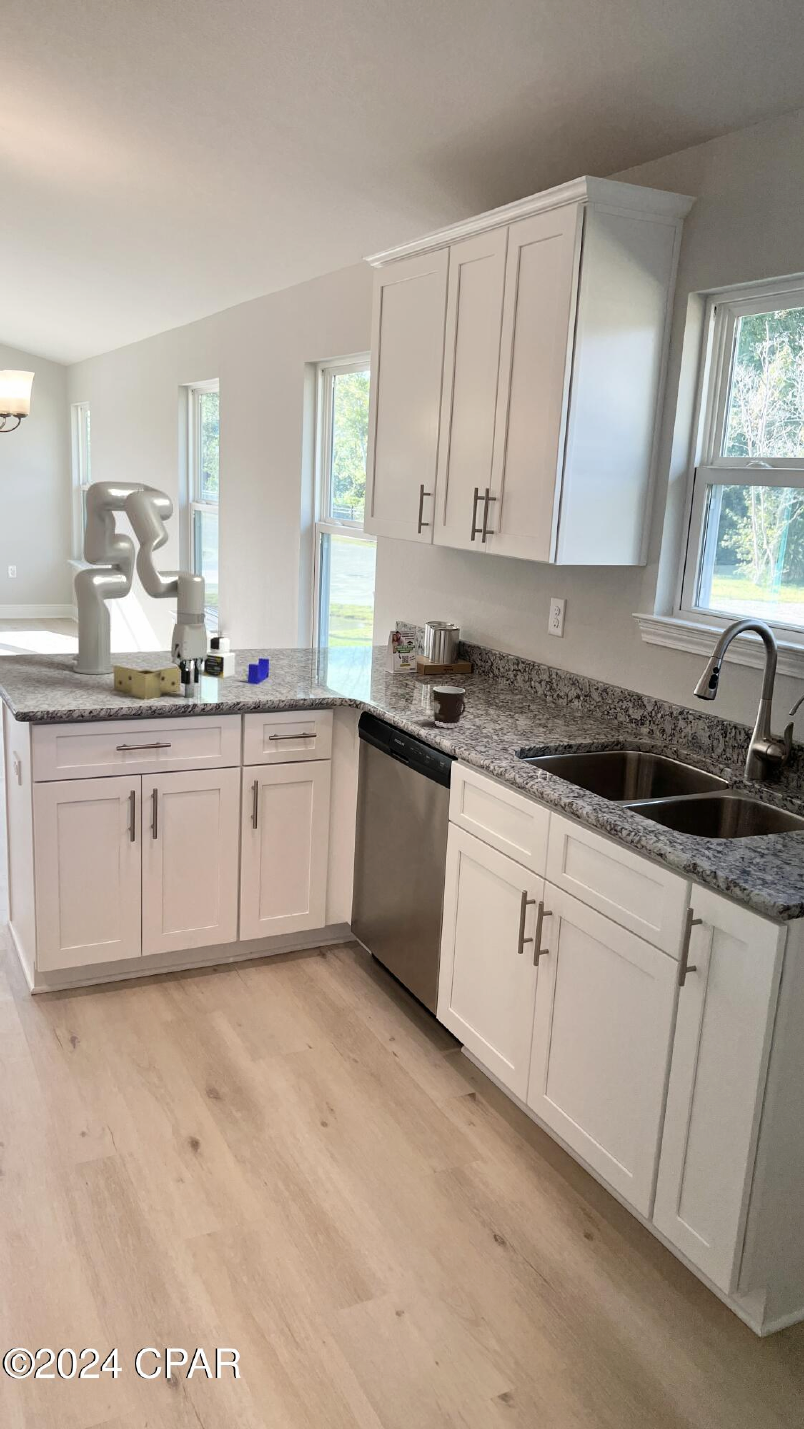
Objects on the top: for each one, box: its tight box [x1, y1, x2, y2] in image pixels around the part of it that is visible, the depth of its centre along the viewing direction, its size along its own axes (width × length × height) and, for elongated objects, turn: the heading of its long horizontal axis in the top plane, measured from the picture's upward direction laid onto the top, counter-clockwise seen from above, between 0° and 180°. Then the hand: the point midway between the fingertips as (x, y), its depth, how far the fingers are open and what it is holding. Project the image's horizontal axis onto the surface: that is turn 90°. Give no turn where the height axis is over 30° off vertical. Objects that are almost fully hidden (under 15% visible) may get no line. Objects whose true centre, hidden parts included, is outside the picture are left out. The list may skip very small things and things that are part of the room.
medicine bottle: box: [203, 636, 236, 679], centre depth 326 cm, size 7×7×12 cm
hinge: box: [113, 664, 181, 700], centre depth 298 cm, size 16×16×7 cm
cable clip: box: [247, 657, 270, 685], centre depth 323 cm, size 12×4×6 cm, turn 171°
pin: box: [184, 659, 195, 699], centre depth 294 cm, size 3×3×13 cm
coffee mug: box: [432, 685, 466, 723], centre depth 278 cm, size 12×9×10 cm
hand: (189, 682), depth 294 cm, fingers closed on pin, 2 cm apart
